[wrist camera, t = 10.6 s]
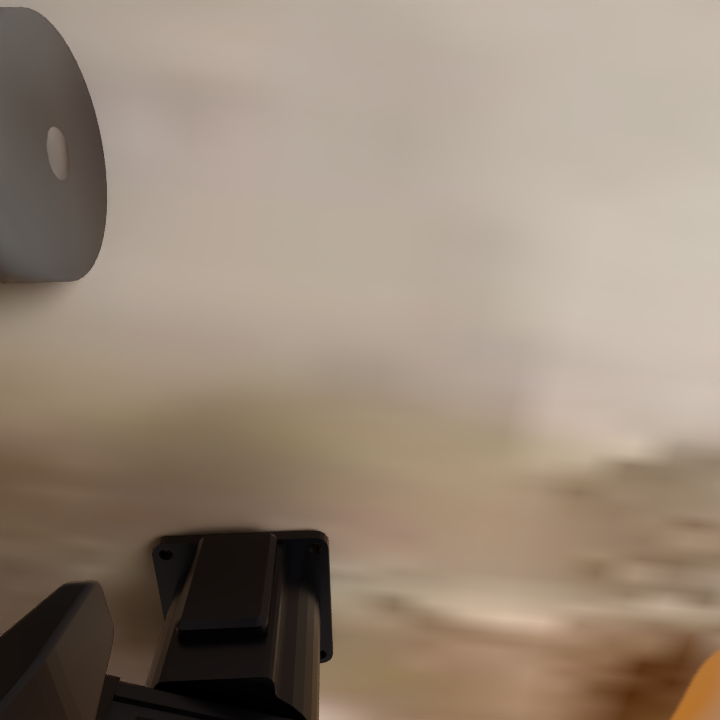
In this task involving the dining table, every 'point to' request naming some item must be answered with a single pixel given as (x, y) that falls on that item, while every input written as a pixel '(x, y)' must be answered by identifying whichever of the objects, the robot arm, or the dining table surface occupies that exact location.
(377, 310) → the dining table surface
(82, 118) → the wooden toy car
